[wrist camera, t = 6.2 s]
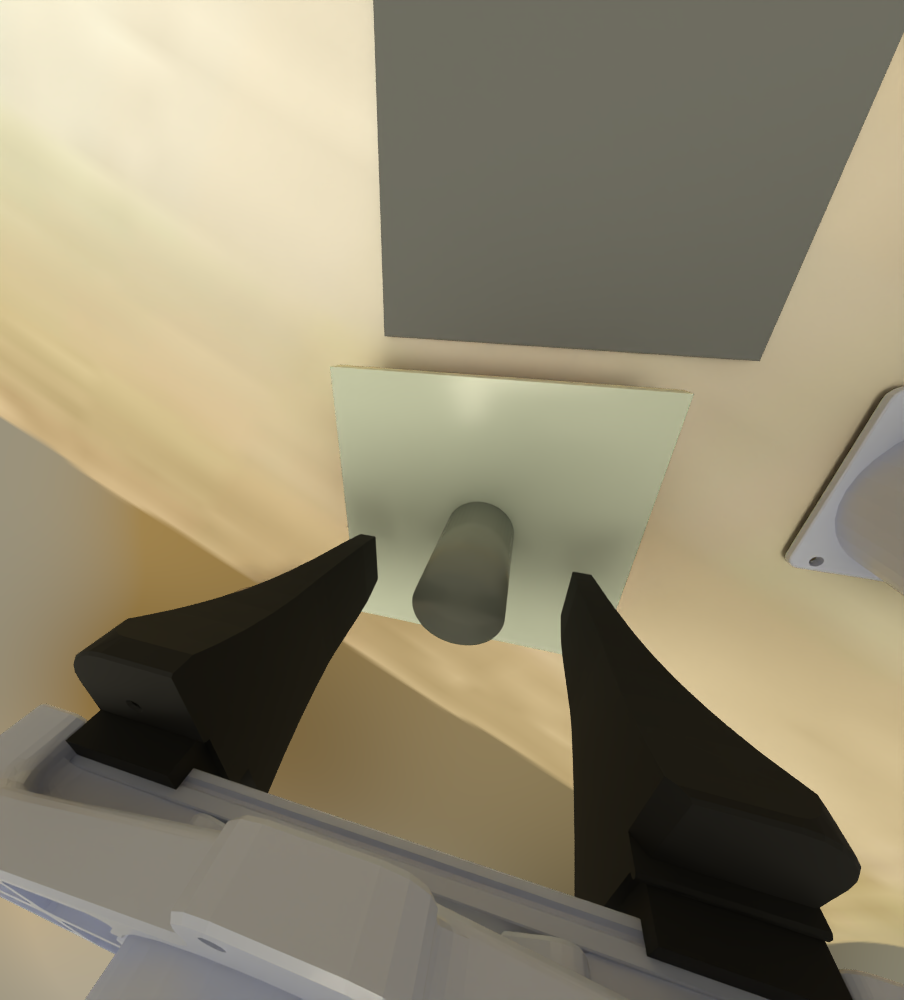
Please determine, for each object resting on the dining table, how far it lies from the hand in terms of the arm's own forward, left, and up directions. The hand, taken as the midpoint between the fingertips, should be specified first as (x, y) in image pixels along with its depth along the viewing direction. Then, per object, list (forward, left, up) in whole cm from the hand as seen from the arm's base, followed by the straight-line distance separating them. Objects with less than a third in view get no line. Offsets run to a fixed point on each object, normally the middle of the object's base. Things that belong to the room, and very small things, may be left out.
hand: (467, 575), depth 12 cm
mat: (-2, -15, -7) cm, 17 cm away
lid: (0, -1, -3) cm, 3 cm away
